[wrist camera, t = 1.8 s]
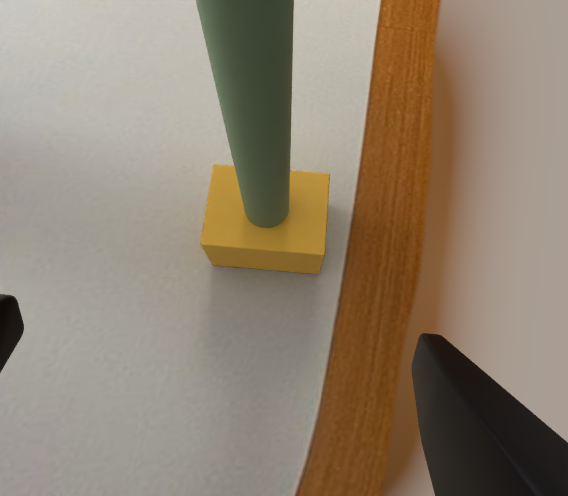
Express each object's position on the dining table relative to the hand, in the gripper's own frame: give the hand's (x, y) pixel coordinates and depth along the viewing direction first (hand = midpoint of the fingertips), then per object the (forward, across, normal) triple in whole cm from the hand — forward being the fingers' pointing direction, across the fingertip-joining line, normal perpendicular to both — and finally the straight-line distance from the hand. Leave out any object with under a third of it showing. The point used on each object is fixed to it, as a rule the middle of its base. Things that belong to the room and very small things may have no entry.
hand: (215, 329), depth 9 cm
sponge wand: (+14, 0, +4) cm, 15 cm away
